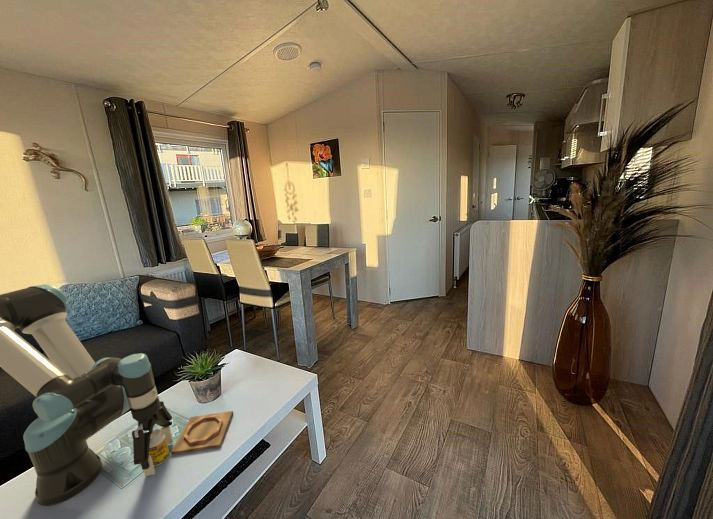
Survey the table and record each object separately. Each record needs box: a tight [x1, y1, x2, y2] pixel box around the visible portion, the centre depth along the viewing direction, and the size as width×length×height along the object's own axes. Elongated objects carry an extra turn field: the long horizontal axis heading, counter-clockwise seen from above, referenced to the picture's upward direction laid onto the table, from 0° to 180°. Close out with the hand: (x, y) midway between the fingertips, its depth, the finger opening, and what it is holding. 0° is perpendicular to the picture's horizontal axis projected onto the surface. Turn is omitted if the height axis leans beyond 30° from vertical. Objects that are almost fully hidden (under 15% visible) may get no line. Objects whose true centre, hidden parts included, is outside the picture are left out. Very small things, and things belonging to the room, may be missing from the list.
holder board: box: [170, 410, 234, 456], centre depth 108 cm, size 16×16×2 cm
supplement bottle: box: [149, 428, 171, 467], centre depth 97 cm, size 6×6×10 cm
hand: (160, 457), depth 98 cm, fingers open, 11 cm apart
